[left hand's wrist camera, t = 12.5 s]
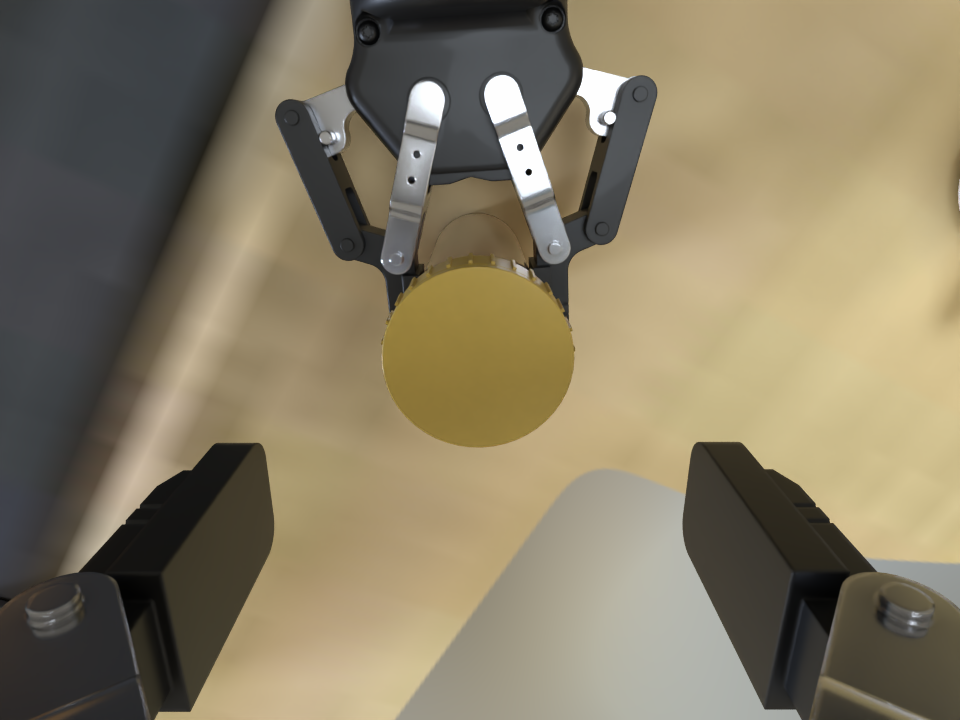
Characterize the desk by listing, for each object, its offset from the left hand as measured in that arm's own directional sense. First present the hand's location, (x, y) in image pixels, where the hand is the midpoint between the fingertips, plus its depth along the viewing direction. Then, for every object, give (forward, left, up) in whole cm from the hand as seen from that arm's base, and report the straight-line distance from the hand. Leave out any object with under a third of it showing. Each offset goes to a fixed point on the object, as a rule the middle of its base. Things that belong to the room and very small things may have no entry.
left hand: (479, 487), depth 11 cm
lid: (0, 0, -7) cm, 7 cm away
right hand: (0, -3, -15) cm, 15 cm away
